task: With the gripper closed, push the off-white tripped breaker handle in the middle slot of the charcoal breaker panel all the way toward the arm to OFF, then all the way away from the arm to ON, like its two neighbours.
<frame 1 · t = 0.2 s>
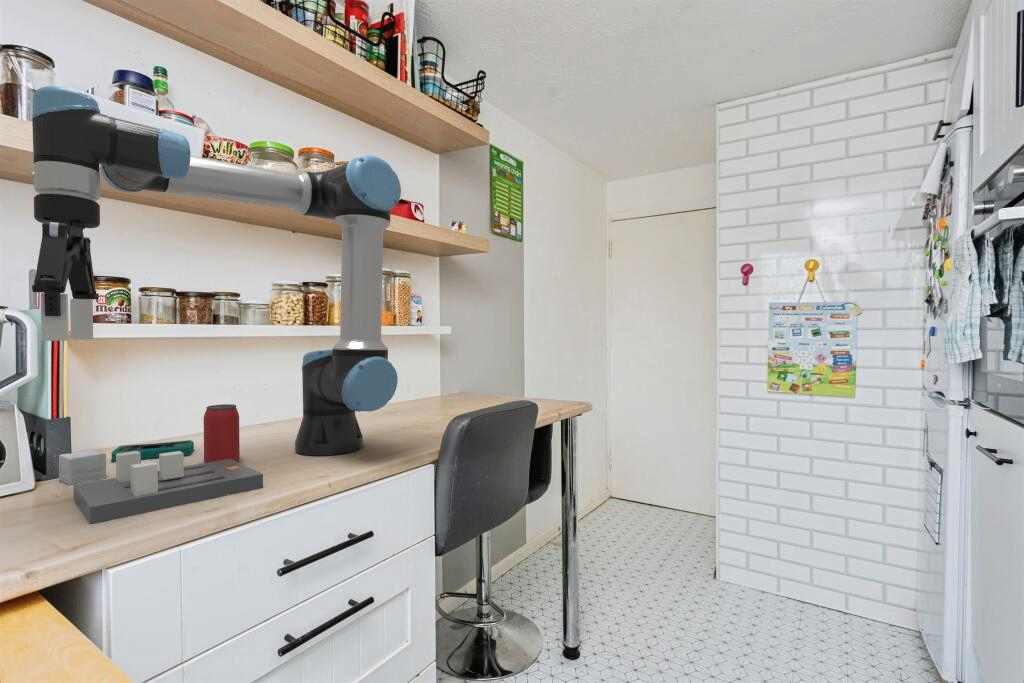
hand: (69, 340, 78), 26 cm above the table, tool pointing down, fingers open, 13 cm apart
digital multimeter: (154, 458, 116), on the table
small box: (82, 480, 98), on the table
beer can: (222, 464, 109), on the table
breaker panel: (171, 493, 89), on the table
breaker handle: (171, 465, 89), point 5 cm above the table, slide at 5.0 cm
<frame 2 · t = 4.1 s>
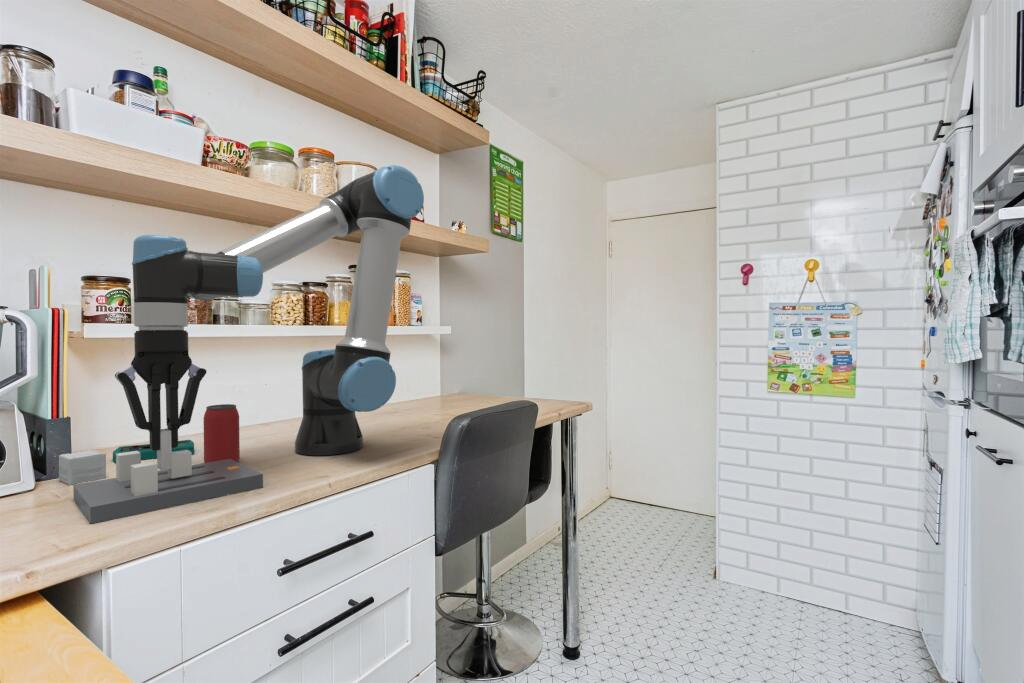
hand: (164, 468, 88), 4 cm above the table, tool pointing down, fingers closed
breaker handle: (179, 463, 90), point 5 cm above the table, slide at 3.8 cm, touching gripper
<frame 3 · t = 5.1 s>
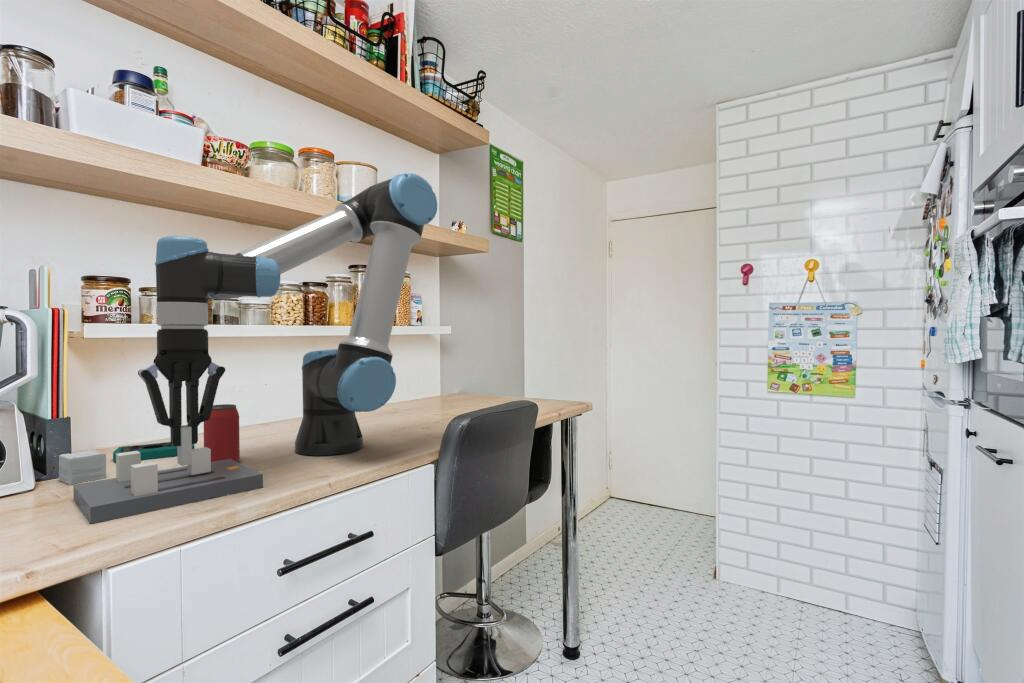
hand: (184, 463, 90), 5 cm above the table, tool pointing down, fingers closed
breaker handle: (199, 460, 92), point 5 cm above the table, slide at 0.8 cm, touching gripper
everything else where it was.
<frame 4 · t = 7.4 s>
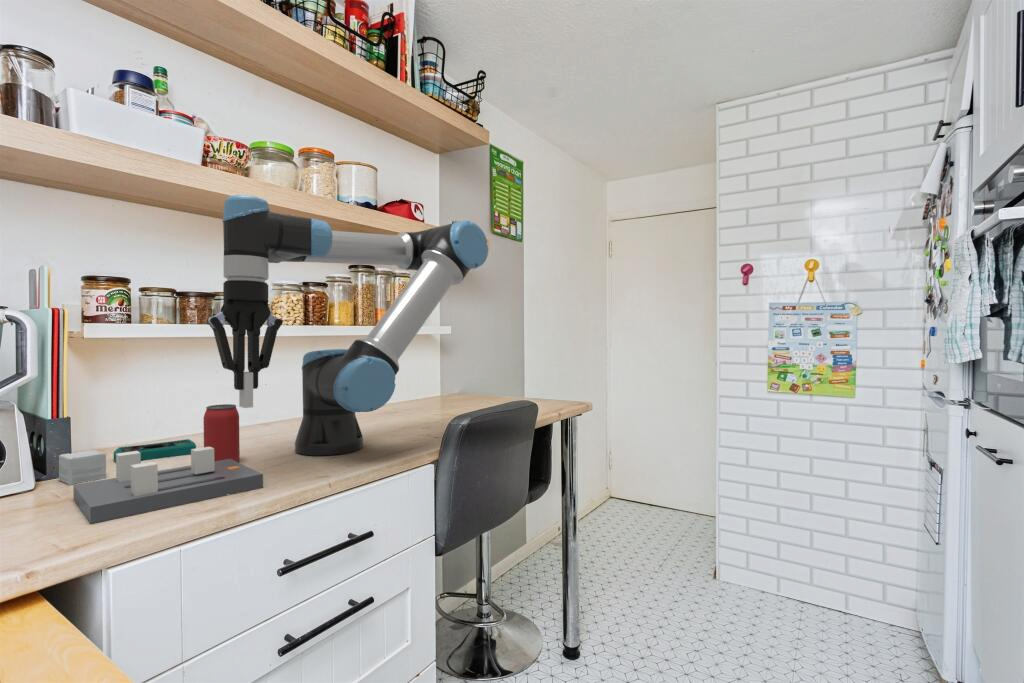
hand: (246, 406, 98), 14 cm above the table, tool pointing down, fingers closed
breaker handle: (202, 460, 92), point 5 cm above the table, slide at 0.2 cm
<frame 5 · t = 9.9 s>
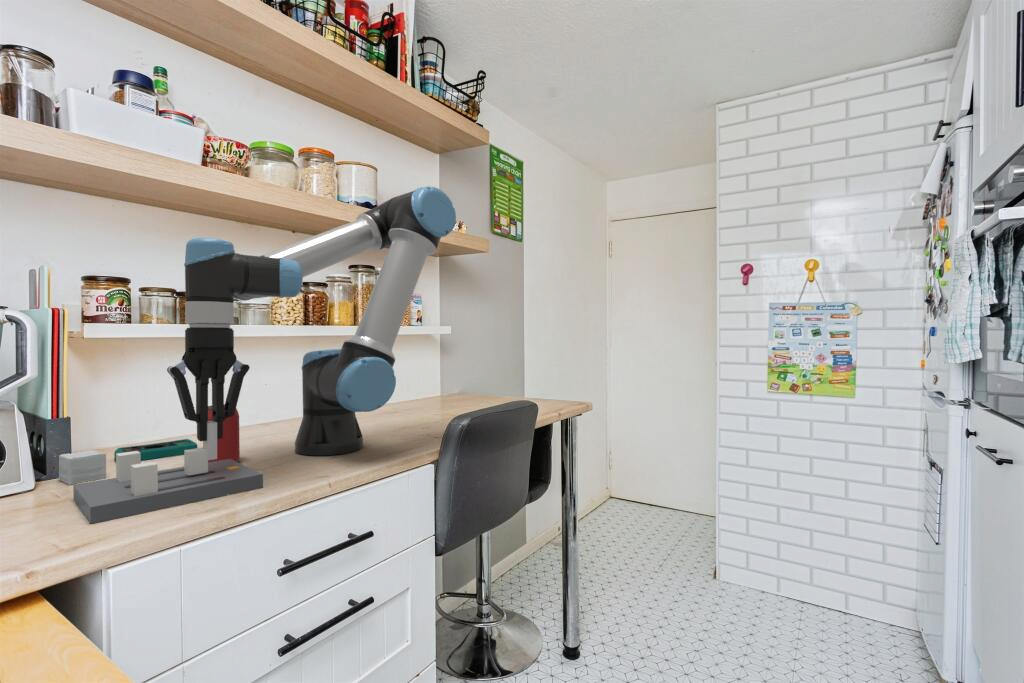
hand: (210, 458, 93), 5 cm above the table, tool pointing down, fingers closed
breaker handle: (196, 461, 92), point 5 cm above the table, slide at 1.3 cm, touching gripper
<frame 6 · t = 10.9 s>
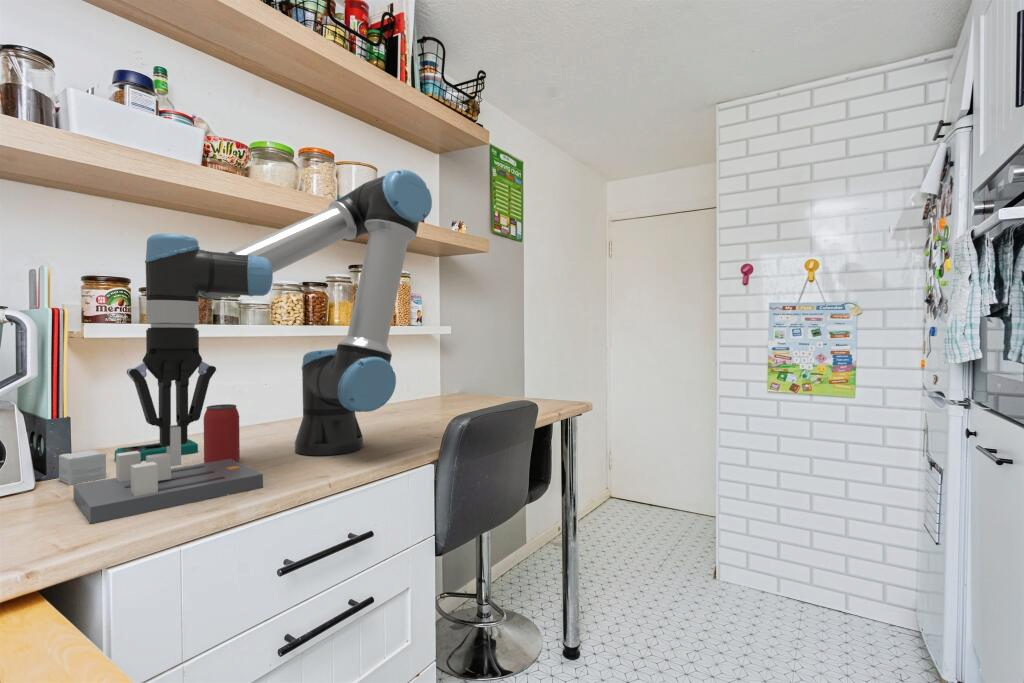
hand: (173, 464, 89), 5 cm above the table, tool pointing down, fingers closed
breaker handle: (158, 467, 88), point 5 cm above the table, slide at 6.9 cm, touching gripper
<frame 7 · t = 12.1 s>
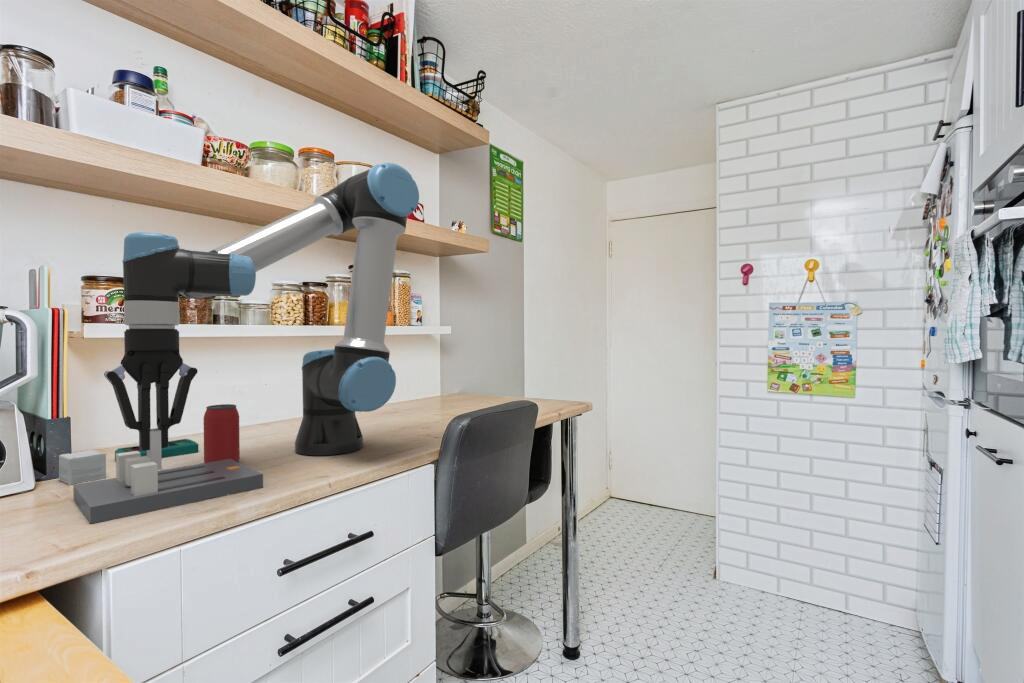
hand: (154, 468, 87), 5 cm above the table, tool pointing down, fingers closed
breaker handle: (138, 470, 86), point 5 cm above the table, slide at 9.7 cm, touching gripper
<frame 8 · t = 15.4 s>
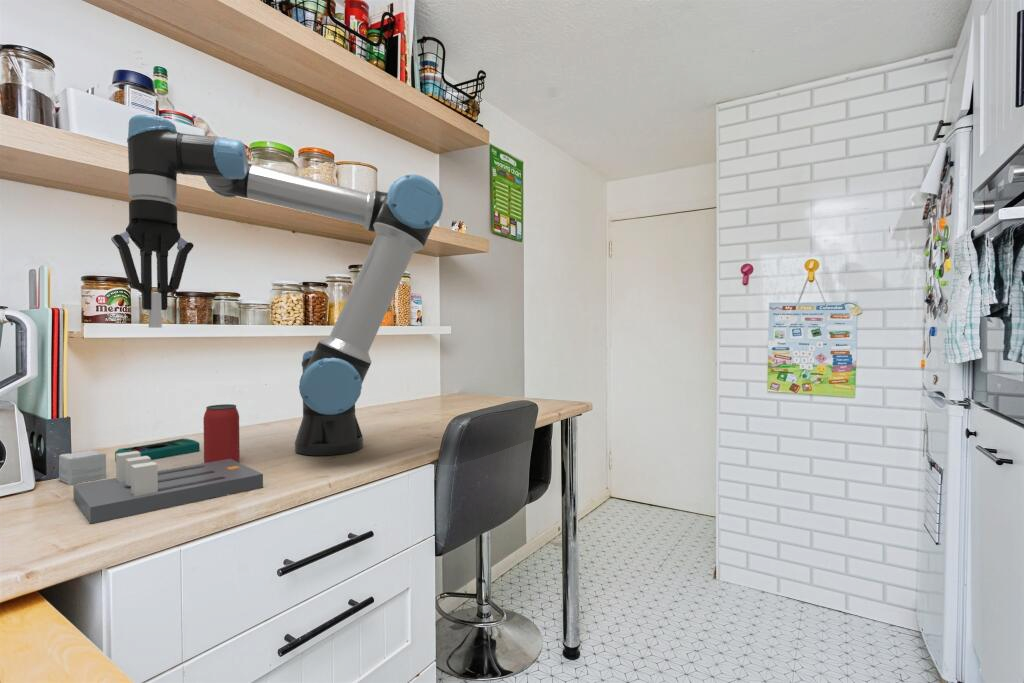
hand: (155, 327, 99), 28 cm above the table, tool pointing down, fingers closed
breaker handle: (138, 470, 86), point 5 cm above the table, slide at 9.7 cm
at the end: breaker handle slide at 9.7 cm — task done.
